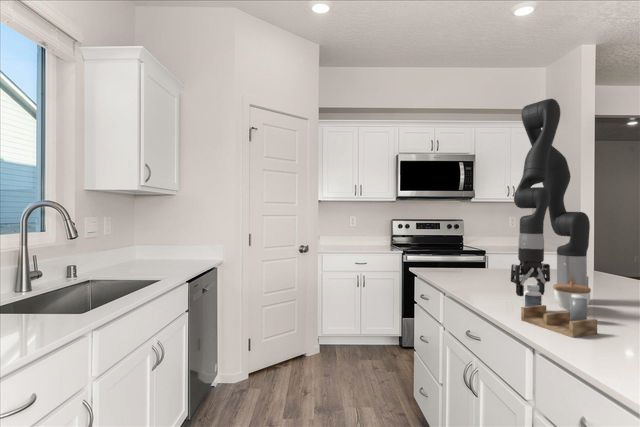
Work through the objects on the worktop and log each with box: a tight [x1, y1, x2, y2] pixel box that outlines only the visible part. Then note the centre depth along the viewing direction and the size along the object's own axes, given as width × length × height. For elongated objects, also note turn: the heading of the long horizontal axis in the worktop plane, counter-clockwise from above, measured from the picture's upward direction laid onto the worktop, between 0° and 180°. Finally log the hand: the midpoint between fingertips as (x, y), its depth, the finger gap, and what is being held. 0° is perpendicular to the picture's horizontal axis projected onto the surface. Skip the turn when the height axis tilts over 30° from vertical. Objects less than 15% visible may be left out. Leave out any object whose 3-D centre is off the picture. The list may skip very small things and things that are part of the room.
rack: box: [520, 304, 598, 338], centre depth 112 cm, size 9×17×4 cm, turn 18°
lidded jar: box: [552, 282, 592, 312], centre depth 131 cm, size 11×11×9 cm
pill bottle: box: [523, 283, 543, 307], centre depth 128 cm, size 5×5×9 cm
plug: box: [569, 294, 588, 321], centre depth 117 cm, size 4×4×8 cm
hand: (530, 295), depth 128 cm, fingers open, 8 cm apart
